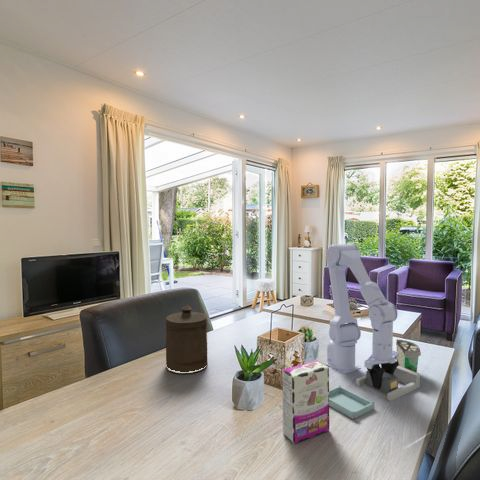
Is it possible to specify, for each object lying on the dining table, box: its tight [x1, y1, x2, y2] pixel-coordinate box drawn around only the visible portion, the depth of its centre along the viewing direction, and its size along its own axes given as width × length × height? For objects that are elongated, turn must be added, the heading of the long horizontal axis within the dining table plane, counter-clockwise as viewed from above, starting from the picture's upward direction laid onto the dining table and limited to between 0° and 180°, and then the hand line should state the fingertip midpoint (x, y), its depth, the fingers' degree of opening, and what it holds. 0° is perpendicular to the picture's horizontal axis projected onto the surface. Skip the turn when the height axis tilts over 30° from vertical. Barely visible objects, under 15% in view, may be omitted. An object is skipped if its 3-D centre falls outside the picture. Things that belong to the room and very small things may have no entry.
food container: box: [395, 339, 422, 373], centre depth 117 cm, size 12×6×10 cm, turn 168°
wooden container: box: [165, 305, 208, 372], centre depth 125 cm, size 15×15×22 cm
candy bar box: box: [281, 360, 330, 445], centre depth 85 cm, size 11×5×16 cm, turn 118°
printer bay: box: [355, 366, 421, 402], centre depth 108 cm, size 12×15×4 cm
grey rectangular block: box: [365, 370, 399, 394], centre depth 107 cm, size 8×4×4 cm, turn 33°
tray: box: [329, 385, 375, 421], centre depth 98 cm, size 12×9×2 cm
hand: (381, 385), depth 107 cm, fingers closed on grey rectangular block, 4 cm apart
